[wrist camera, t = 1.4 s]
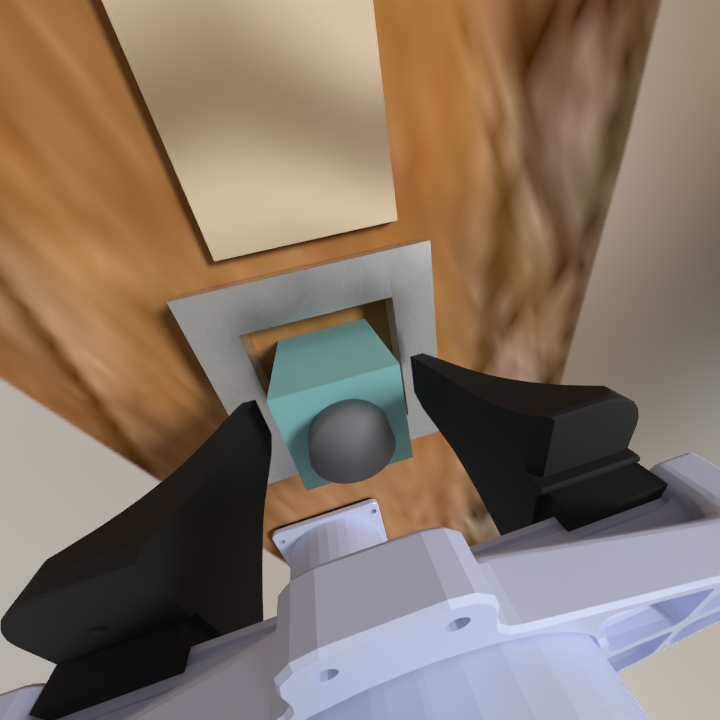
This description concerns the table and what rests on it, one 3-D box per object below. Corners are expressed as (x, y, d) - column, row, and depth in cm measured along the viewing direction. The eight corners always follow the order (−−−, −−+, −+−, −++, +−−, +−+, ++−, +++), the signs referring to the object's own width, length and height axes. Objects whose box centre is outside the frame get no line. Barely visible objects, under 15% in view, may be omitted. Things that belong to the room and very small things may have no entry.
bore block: (431, 415, 18) (442, 430, 16) (269, 464, 17) (266, 484, 15) (416, 239, 13) (430, 240, 11) (181, 294, 12) (166, 302, 10)
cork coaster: (394, 220, 12) (397, 220, 12) (217, 260, 11) (214, 261, 11) (360, -59, 8) (364, -75, 8) (95, -28, 8) (82, -45, 7)
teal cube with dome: (378, 388, 16) (422, 475, 10) (304, 410, 16) (307, 513, 10) (364, 318, 14) (410, 378, 8) (278, 340, 13) (262, 420, 8)
